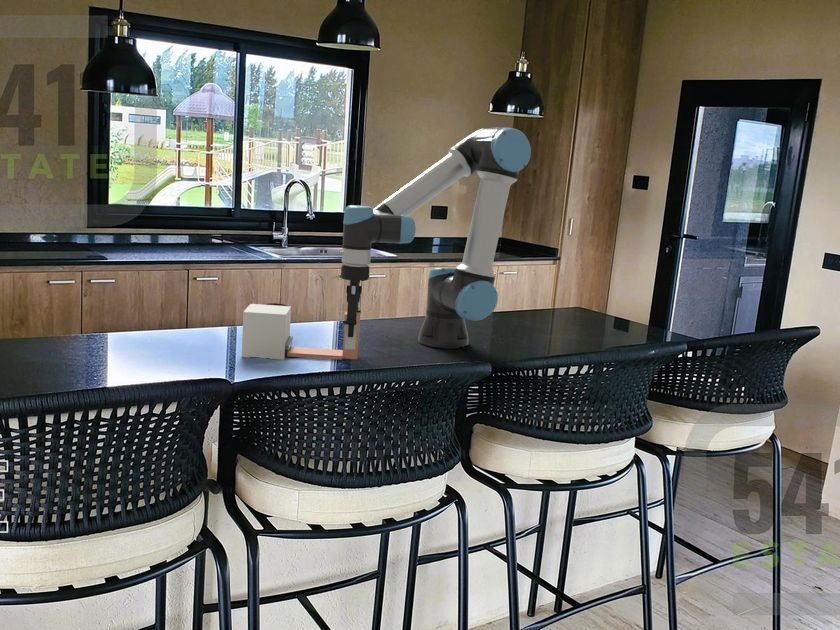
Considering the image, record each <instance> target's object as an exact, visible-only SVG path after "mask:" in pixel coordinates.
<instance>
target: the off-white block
mask: <svg viewBox="0 0 840 630" xmlns="http://www.w3.org/2000/svg"><path fill="white" fill-rule="evenodd" d="M291 315H292V306H289V305H288V306H277V305H264V304H260V303H259V304H258V303H250V304H249V305H248V306H247V307H246V308H245V309H244V310H243V314H242V337H241V340H242V341H241V345H242V346H241V357H242V358H250V357H261V358H260V359H266V358H270V360H282V361H283V360H285V358H286V351H288V350H289V348H290V347H291V346H290V345H291V344H292V342H293V339H294V336H293V335H291V318H292V316H291Z"/></svg>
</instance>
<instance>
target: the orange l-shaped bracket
mask: <svg viewBox="0 0 840 630" xmlns="http://www.w3.org/2000/svg"><path fill="white" fill-rule="evenodd" d="M346 320H347V311H344V321H346ZM344 321H343V322H344ZM356 321H357V327H356V343H355V349H345V335H346V324H344V323H343V337H342V338H343V341H342V349H330V348H318V347H317V348H316V347H315V348H313V347H299V346H289V350H287V352H286V357H292V358H293V357H294V358H307V359H308V358H309V359H321V360H322V359H324V360H326V359H327V360H341V361H342V360H343V359H344V360H345V359H348V360H358V357H359V355H358V354H359V341H360V340H359V339H360V324H361V314H360V312H357V318H356Z"/></svg>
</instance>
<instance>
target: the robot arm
mask: <svg viewBox="0 0 840 630" xmlns="http://www.w3.org/2000/svg"><path fill="white" fill-rule="evenodd" d="M447 151H448V152H447V154H446V155H445V156H444V157H443V158H441V159H440V160H439V161H437V162H436V163H434V164H433V165H431V166H430V167H429V168H427V169H426V170H424V171H423V172H422V173H421V174H419V175H418V176H416V177H415V178H414V179H412V180H411V181H410V182H408V183H406V184H405V185H404V186H403V187H400V189H399V190H398V191H395V192H394V193H392V195H390V196H389V197H388V198H386V199H385V200H383V201H382V202H380V203H379V204H378V205H376V206H375V207H372V206H367V205H358V204H357V205H354V204H350V205H347V206H346V207H345V210H344V213H343V221H342V224H343V225H342V226H343V227H342V228H343V229H342V230H343V232H342V250H340V251H339V255H341V263H343V264H341V266H340V278H341V279H342V280H345V281H349V284H347V285H346V302H347V309H346V310H347V311H346V312H347V320H346V321H343V325H344V324H346V335H345V349H355V343H356V327H357V321H356V318H357V312H360V315H361V313H362V312H361V310H360V308H359V303H360V302H361V301H360V300H361V295H362V290H363V287H362V285H360V283H361V282H365V281H368V280H369V279H370V268H371V267H370V266H369V265H370V264H371V256H372V244H373V243H382V244H383V243H385V244H399V245H401V244H410V243H412V241H413V240H414V239H415V237H416V236H415V235H416V230H417V229H416V228H417V227H416V222H415V219H414V218H413V217H412V216H411V214H413V213H414V212H416V211H417V210H419V209H420V208H421V207H423V206H424V205H426V204H427V203H429V201H431V200H432V199H434V198H435V197H437V196H438V195H439V194H441V193H442V192H443V191H445V190H446V189H447V188H449V187H450V186H452V185H454V184H455V183H456V182H457V181H458V180H460V179H461V178H463V177H464V178H465V177H466V178H468V177H470V176H471V175H473V174H474V173H477V176H478V177H479V184H478V188H477V193H476V197H475V202H474V206H473V211H472V216H471V221H470V225H469V229H468V234H467V239H466V244H465V246H464V247H465V248H464V253H463V257H462V260H461V261H462V262H460V263H459V264H458V265H457V266H455V267H432V268H430V270H429V274H428V278H427V281H428V282H427V296H426V309H425V312H426V313H425V317H424V320H423V323H422V326H421V327H420V330H419V332H418V338H417V342H419V344H421V345H424V346H427V347H431V348H439V349H460V348H459V347H463V346H466V345H468V346H469V338H470V337H469V333H468V329H467V325H466V320H470V321H474V322H475V321H481V320H485V318H487V317H488V316H491V314H492V313H493V312H494V310H495V309H496V306H497V304H498V302H499V301H498V300H499V294H498V291H497V289H496V287H495V285H494V284H495V280H496V274H495V272H494V271H493V264H494V259H495V256H496V250H497V247H498V243H499V242H498V241H499V239H500V233H501V230H502V225H503V221H504V216H505V212H506V206H507V204H508V203H507V202H508V198H509V192H510V189H511V186H512V185H513V184H515V183H516V182H517V181H518V178H519V174H520V171H522V170H523V169H524V168H525V167H526V166H527V165H528V164H529V162H530V159H531V156H532V155H531V154H532V152H531V151H532V148H531V144H530V141H529V140H528V138H527V136H526V134H525V133H523V131H521V130H519V129H517V128H513V127H508V126H502V127H482V128H479V129H477V130H475V131H473V132H472V133H470V134H469V135H467V136H465V137H464V138H463V139H461V140H460V141H459V142H457V143H456V144H454V145H453V146H451V147H450V148H449V149H448V150H447ZM463 348H464V347H463Z"/></svg>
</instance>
